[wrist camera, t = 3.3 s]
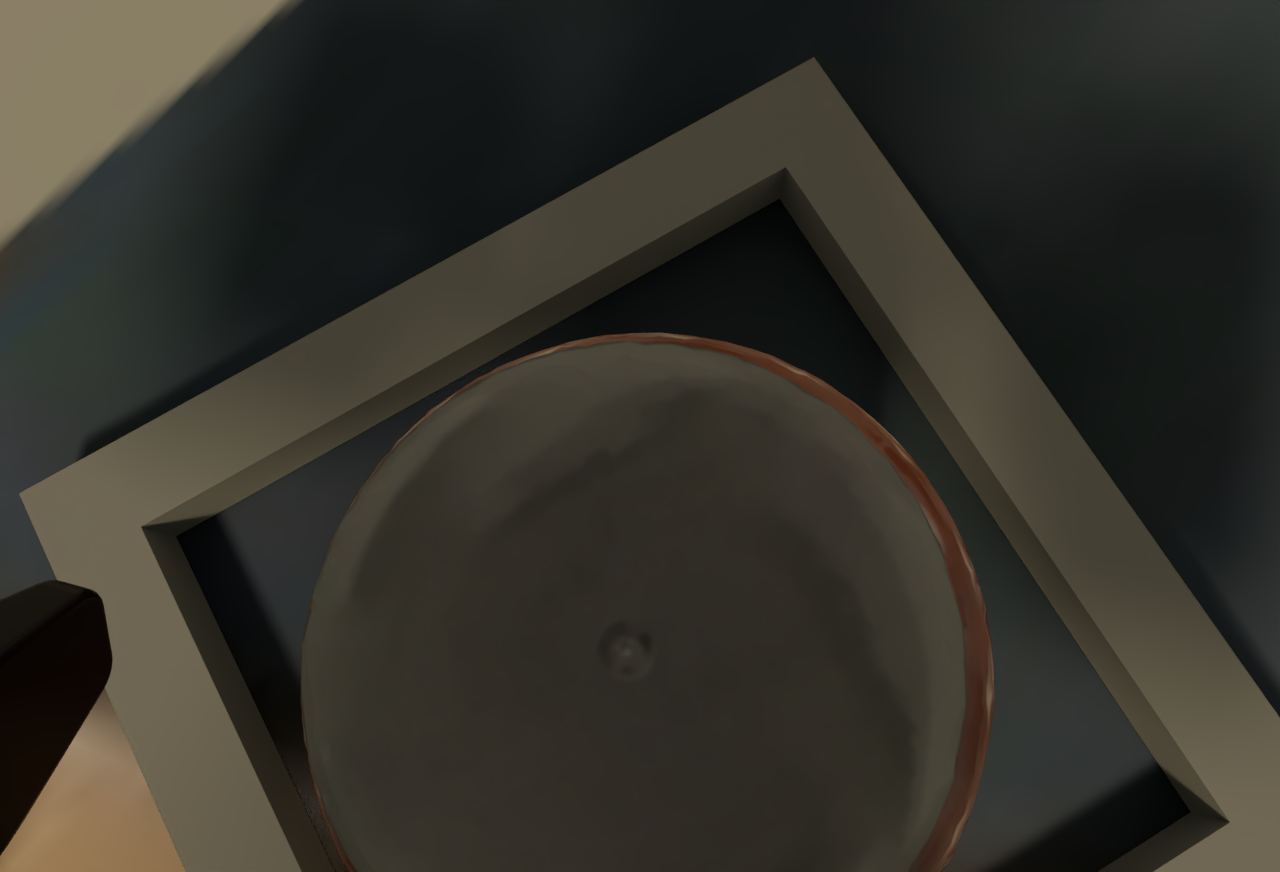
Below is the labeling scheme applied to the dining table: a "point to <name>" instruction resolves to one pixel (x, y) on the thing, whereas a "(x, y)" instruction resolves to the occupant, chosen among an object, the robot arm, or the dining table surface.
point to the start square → (552, 291)
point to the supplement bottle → (647, 630)
